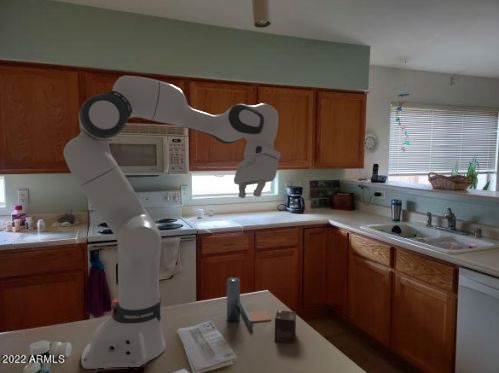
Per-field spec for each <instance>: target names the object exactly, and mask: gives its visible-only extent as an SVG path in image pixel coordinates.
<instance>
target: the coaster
mask: <svg viewBox="0 0 499 373" xmlns="http://www.w3.org/2000/svg"><path fill="white" fill-rule="evenodd" d="M248 313H249V315H250V316H251V318H252V320H253V323H262V322H272V319H271V317H270V315H269V314H268V312H267V311H266V309H265V310H255V311H248Z"/></svg>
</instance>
